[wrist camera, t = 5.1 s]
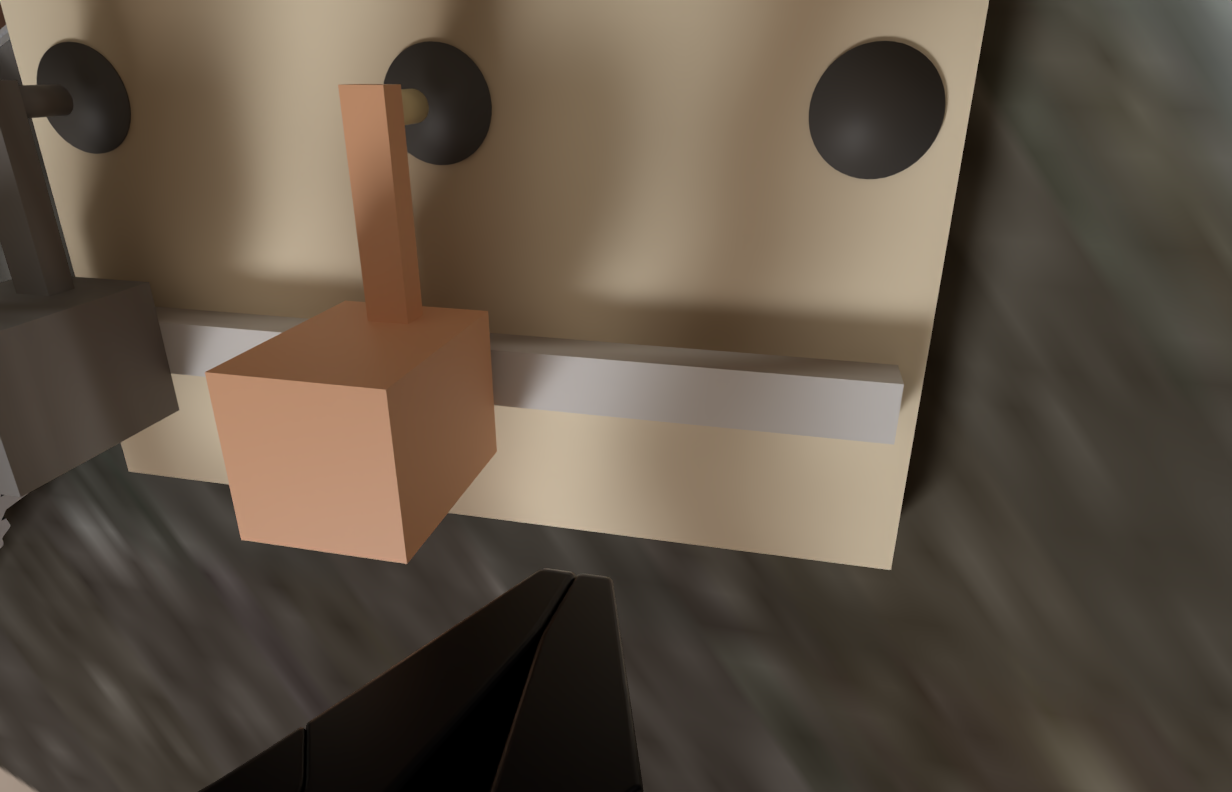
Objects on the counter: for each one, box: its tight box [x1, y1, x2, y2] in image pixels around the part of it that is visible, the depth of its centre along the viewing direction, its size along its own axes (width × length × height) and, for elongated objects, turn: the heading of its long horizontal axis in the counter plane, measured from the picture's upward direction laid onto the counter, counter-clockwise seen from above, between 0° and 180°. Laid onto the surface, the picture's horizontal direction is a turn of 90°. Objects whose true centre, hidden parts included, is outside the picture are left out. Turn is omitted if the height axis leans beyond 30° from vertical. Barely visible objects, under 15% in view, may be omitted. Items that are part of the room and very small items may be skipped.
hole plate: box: [0, 0, 989, 570], centre depth 15 cm, size 19×11×6 cm, turn 91°
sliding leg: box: [205, 84, 497, 564], centre depth 13 cm, size 3×7×5 cm, turn 1°
